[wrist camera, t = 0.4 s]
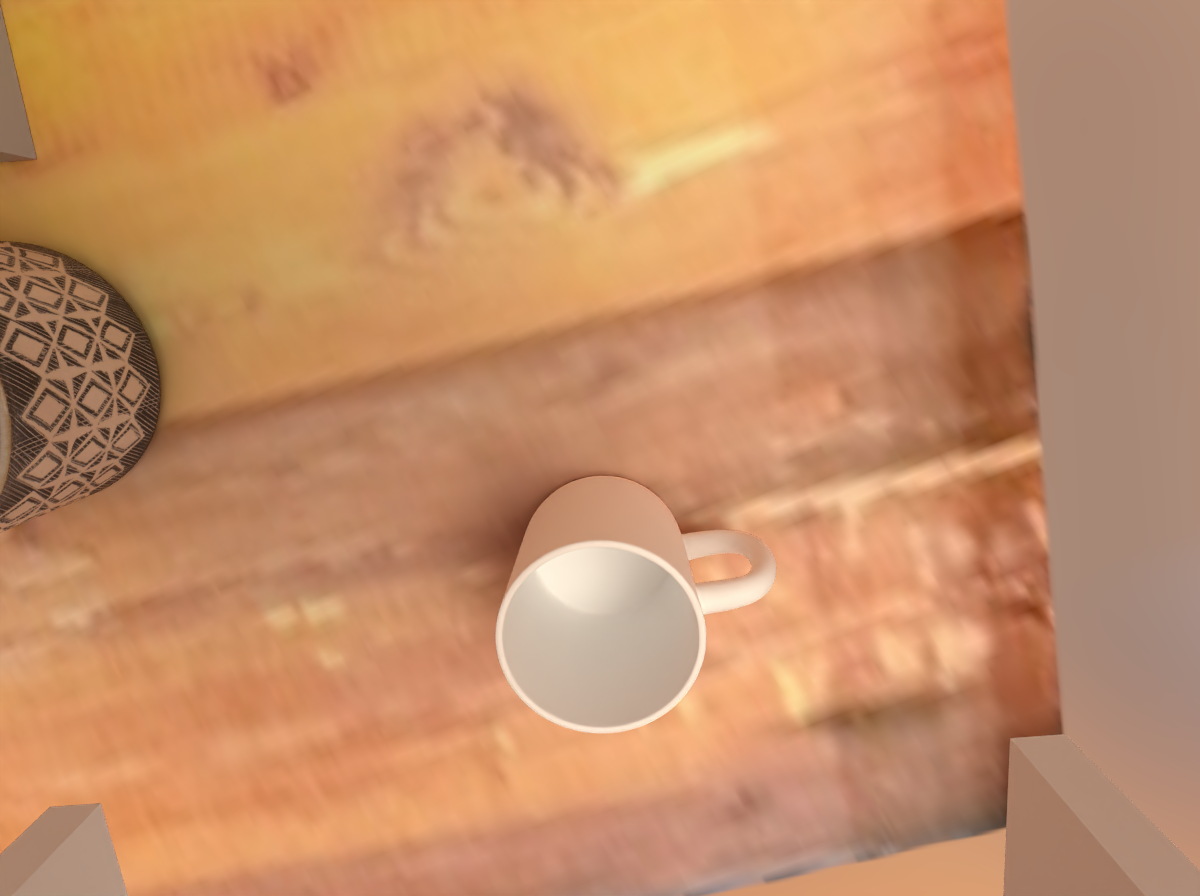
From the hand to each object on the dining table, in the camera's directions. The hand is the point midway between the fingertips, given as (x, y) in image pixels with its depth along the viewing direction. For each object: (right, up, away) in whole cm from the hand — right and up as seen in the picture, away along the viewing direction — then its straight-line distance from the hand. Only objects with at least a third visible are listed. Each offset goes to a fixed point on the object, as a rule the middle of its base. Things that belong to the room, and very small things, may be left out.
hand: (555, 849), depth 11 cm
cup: (+3, +1, +28) cm, 28 cm away
